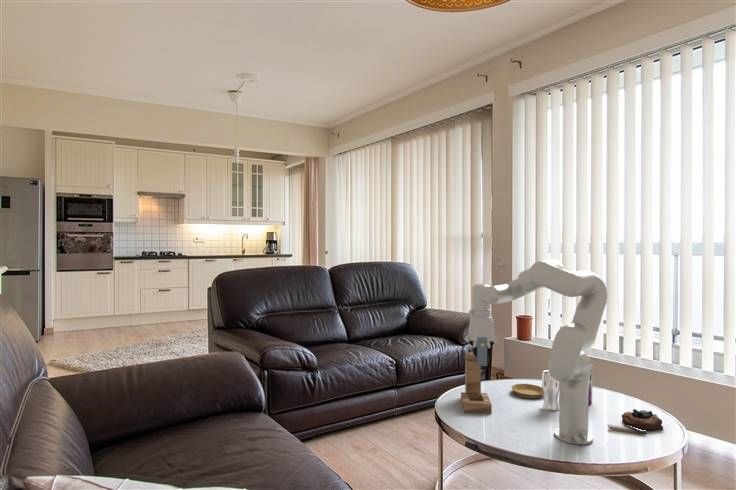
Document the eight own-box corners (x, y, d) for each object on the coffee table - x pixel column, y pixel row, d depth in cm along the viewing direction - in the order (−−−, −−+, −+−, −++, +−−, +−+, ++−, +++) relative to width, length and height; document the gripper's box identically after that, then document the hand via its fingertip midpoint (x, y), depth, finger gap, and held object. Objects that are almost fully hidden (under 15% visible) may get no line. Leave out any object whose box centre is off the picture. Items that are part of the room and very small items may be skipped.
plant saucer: (537, 388, 219) (538, 383, 219) (551, 400, 204) (551, 394, 204) (507, 389, 219) (507, 383, 218) (518, 400, 204) (518, 394, 204)
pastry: (667, 430, 172) (667, 414, 172) (639, 433, 169) (639, 417, 169) (644, 419, 183) (644, 404, 182) (617, 421, 180) (617, 406, 180)
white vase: (556, 405, 197) (556, 370, 197) (561, 411, 190) (561, 375, 190) (539, 404, 198) (539, 370, 197) (544, 411, 191) (544, 375, 190)
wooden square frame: (491, 413, 189) (491, 364, 188) (464, 412, 190) (463, 364, 189) (484, 396, 208) (484, 352, 208) (459, 396, 209) (459, 352, 209)
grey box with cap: (487, 366, 192) (487, 337, 191) (477, 366, 192) (477, 337, 192) (485, 362, 198) (485, 334, 198) (475, 361, 199) (475, 333, 198)
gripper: (461, 314, 192) (461, 358, 193) (503, 315, 190) (503, 359, 191) (460, 311, 200) (460, 353, 200) (500, 312, 198) (500, 354, 198)
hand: (481, 356), depth 195 cm, fingers closed on grey box with cap, 4 cm apart
